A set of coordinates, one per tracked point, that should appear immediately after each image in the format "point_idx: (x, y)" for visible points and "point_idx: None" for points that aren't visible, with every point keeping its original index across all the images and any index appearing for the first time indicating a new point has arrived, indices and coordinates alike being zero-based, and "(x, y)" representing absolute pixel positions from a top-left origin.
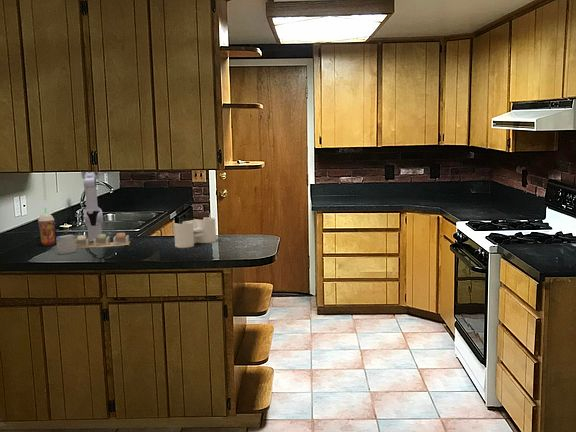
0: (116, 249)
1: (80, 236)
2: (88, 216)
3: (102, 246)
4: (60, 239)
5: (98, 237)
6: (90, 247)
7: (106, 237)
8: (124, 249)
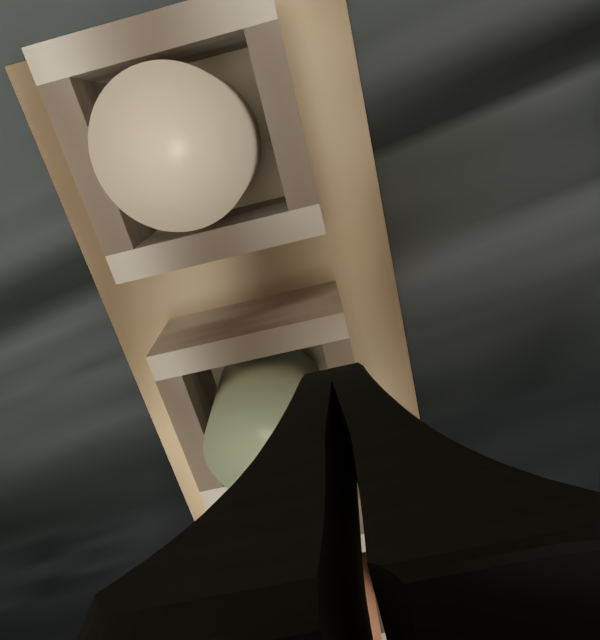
0: (44, 571)
1: (93, 160)
2: (173, 550)
3: (152, 419)
4: None
5: (211, 410)
6: (104, 298)
7: None
8: (49, 627)
